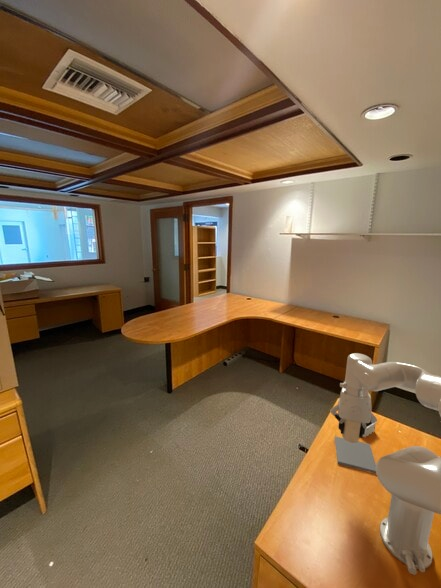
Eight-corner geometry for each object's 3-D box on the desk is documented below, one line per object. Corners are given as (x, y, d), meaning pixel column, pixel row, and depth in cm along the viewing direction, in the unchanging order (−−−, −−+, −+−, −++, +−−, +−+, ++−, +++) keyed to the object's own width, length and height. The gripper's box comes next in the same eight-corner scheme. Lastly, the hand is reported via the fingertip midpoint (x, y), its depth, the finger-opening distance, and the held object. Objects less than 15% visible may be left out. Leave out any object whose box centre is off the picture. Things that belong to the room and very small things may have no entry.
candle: (341, 440, 90) (344, 415, 88) (342, 429, 95) (344, 406, 93) (358, 445, 88) (362, 420, 86) (358, 434, 93) (361, 411, 91)
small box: (365, 438, 114) (366, 428, 113) (349, 427, 121) (350, 418, 119) (374, 432, 118) (376, 422, 116) (358, 421, 124) (360, 412, 123)
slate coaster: (377, 474, 96) (377, 471, 96) (337, 463, 101) (337, 461, 100) (369, 446, 109) (369, 444, 109) (334, 438, 114) (334, 436, 113)
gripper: (330, 390, 87) (326, 435, 90) (387, 399, 81) (380, 446, 85) (328, 379, 94) (324, 421, 97) (381, 387, 88) (374, 431, 92)
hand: (350, 432), depth 91 cm, fingers closed on candle, 5 cm apart
